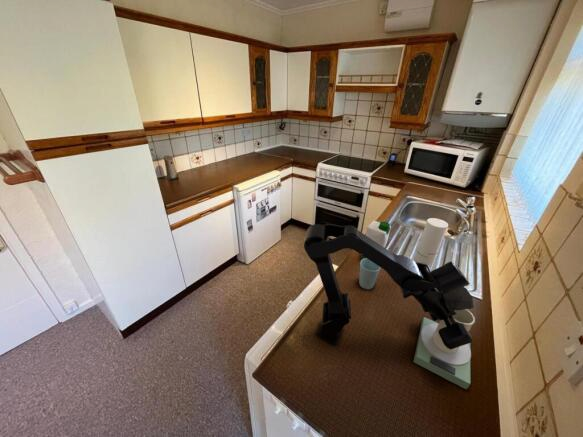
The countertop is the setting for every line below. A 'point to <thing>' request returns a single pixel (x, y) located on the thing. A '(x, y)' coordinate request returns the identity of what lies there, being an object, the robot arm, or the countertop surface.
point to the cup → (368, 273)
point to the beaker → (460, 317)
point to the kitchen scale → (442, 357)
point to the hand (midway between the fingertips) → (457, 328)
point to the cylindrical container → (430, 241)
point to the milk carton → (378, 233)
